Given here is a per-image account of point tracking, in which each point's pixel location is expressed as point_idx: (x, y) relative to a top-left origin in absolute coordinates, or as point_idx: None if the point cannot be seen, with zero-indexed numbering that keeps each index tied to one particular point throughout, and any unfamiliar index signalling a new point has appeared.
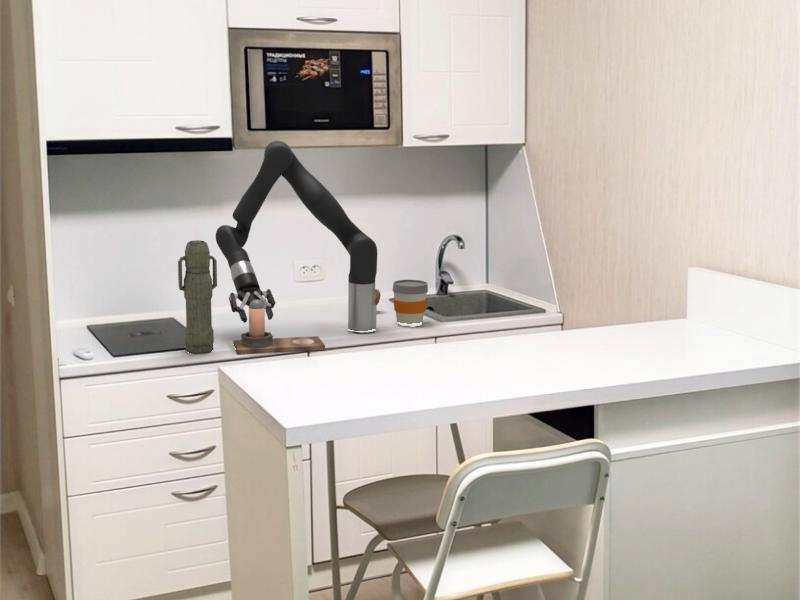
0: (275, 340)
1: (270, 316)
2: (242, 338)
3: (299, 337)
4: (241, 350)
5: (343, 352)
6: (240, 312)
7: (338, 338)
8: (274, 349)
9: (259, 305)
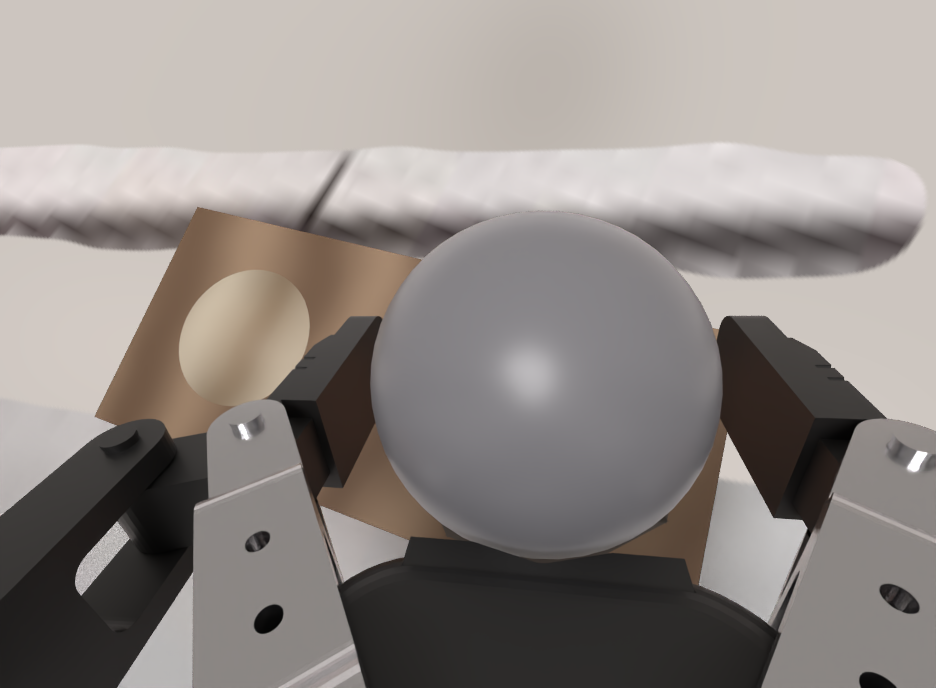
0: (377, 451)
1: (378, 317)
2: None
3: None
4: None
5: (176, 151)
6: (878, 413)
7: (12, 406)
8: None
9: (534, 211)
